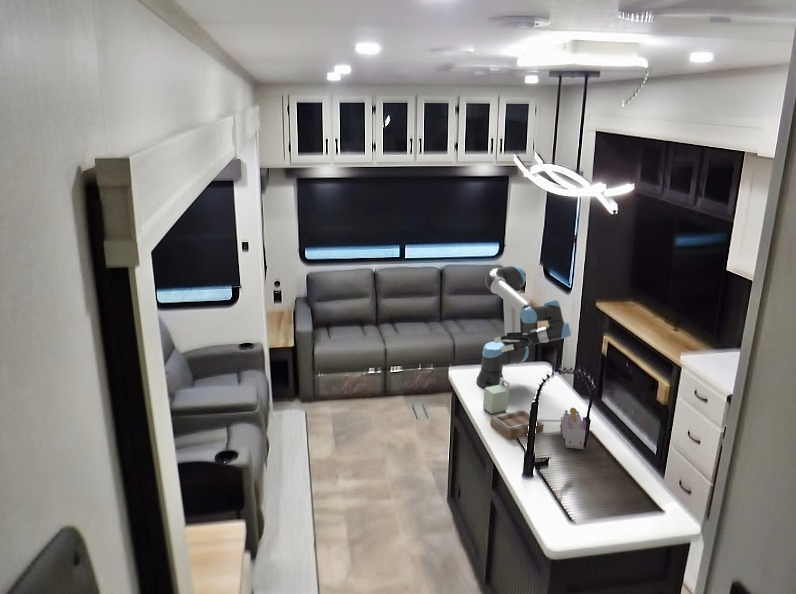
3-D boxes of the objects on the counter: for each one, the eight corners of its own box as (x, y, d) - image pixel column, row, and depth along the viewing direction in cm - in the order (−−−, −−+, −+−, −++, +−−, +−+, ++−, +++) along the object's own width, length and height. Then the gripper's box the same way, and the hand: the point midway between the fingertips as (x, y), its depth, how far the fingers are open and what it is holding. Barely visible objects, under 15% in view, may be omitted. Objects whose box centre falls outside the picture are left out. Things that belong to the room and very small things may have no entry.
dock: (522, 416, 311) (523, 407, 310) (542, 431, 299) (544, 421, 297) (489, 424, 302) (491, 414, 300) (509, 440, 289) (510, 430, 288)
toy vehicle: (576, 431, 301) (581, 403, 297) (584, 453, 283) (589, 423, 278) (557, 429, 302) (561, 401, 297) (563, 451, 283) (568, 421, 279)
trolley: (498, 405, 322) (501, 377, 317) (506, 411, 316) (510, 383, 311) (482, 408, 317) (485, 380, 312) (490, 415, 311) (494, 386, 306)
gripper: (535, 334, 301) (493, 343, 307) (544, 350, 322) (505, 359, 328) (532, 320, 305) (490, 329, 311) (542, 337, 325) (502, 346, 332)
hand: (498, 345), depth 320 cm, fingers open, 13 cm apart
